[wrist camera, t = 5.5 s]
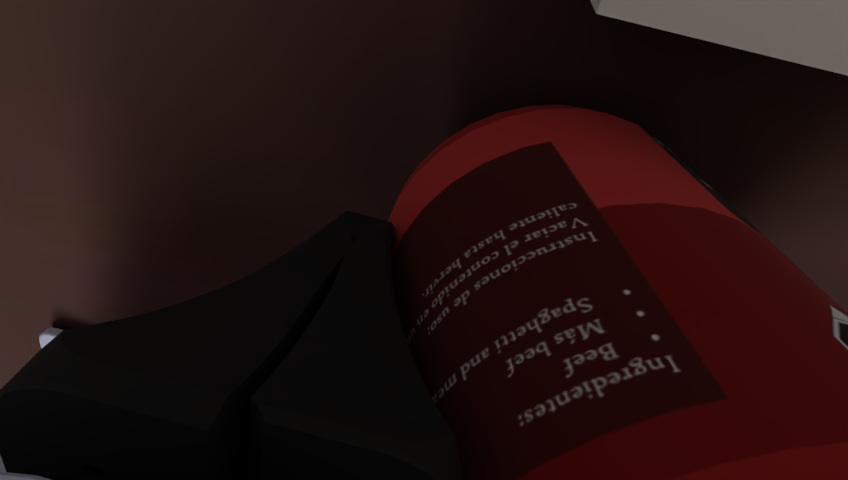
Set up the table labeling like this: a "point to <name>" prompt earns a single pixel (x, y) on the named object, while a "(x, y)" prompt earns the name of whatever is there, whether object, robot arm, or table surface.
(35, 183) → the table surface
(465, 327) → the canned food
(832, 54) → the box
